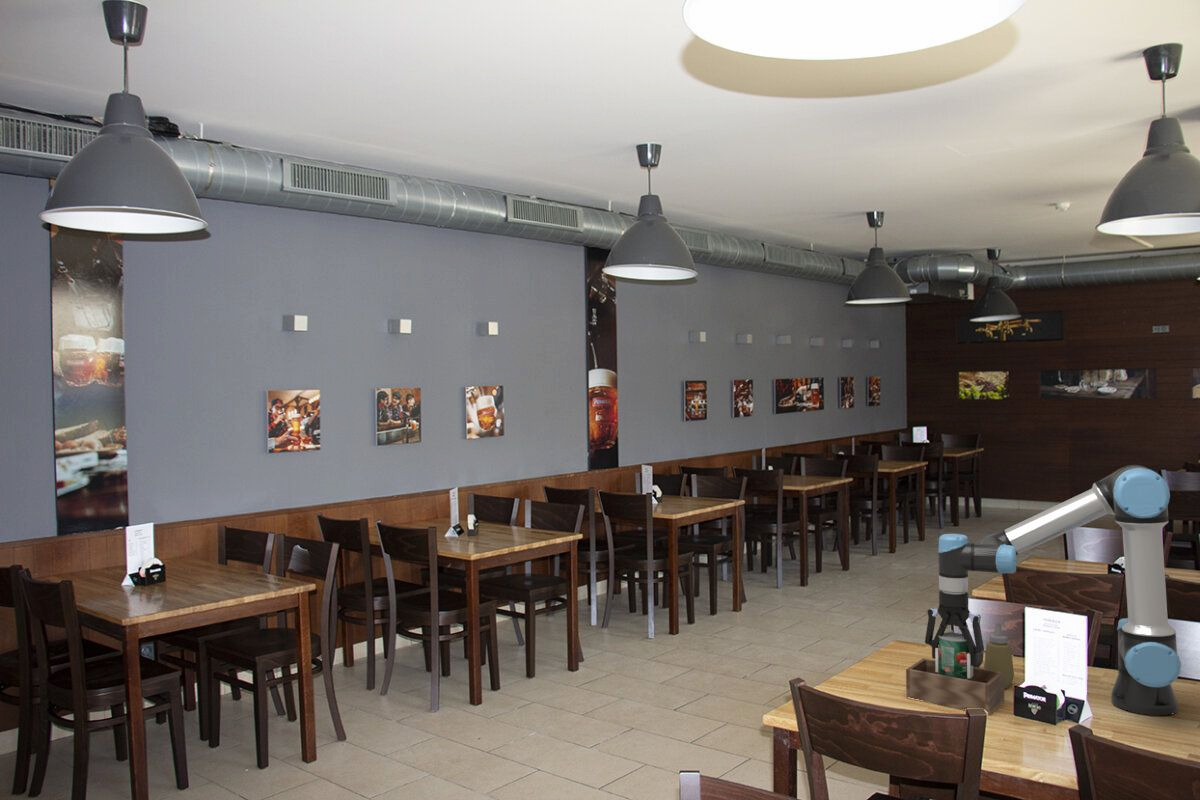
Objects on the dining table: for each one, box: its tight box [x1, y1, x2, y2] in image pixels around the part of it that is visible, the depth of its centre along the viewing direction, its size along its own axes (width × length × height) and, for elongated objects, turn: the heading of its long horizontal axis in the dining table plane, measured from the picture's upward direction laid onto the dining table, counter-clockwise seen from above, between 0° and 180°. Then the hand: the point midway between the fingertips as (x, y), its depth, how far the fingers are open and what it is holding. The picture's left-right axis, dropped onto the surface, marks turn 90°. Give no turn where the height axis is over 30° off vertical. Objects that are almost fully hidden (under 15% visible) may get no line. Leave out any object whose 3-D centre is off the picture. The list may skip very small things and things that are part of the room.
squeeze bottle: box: [983, 622, 1015, 690], centre depth 257 cm, size 8×8×18 cm
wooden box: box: [905, 657, 1005, 717], centre depth 246 cm, size 22×13×8 cm, turn 50°
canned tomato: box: [938, 632, 969, 680], centre depth 246 cm, size 8×8×11 cm
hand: (954, 673), depth 246 cm, fingers closed on canned tomato, 8 cm apart
